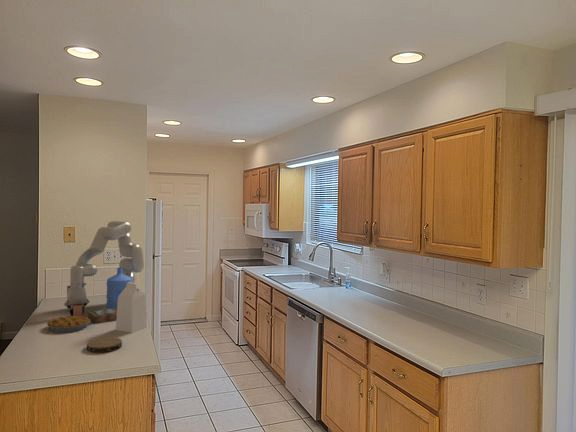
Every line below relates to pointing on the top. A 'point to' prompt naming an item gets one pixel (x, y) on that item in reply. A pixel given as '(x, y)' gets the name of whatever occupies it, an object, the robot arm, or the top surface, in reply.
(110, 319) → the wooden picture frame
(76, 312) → the terracotta block
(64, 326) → the pie
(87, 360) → the top surface
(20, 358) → the top surface
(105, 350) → the brown round disc
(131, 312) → the milk
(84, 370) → the top surface
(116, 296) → the water jug
